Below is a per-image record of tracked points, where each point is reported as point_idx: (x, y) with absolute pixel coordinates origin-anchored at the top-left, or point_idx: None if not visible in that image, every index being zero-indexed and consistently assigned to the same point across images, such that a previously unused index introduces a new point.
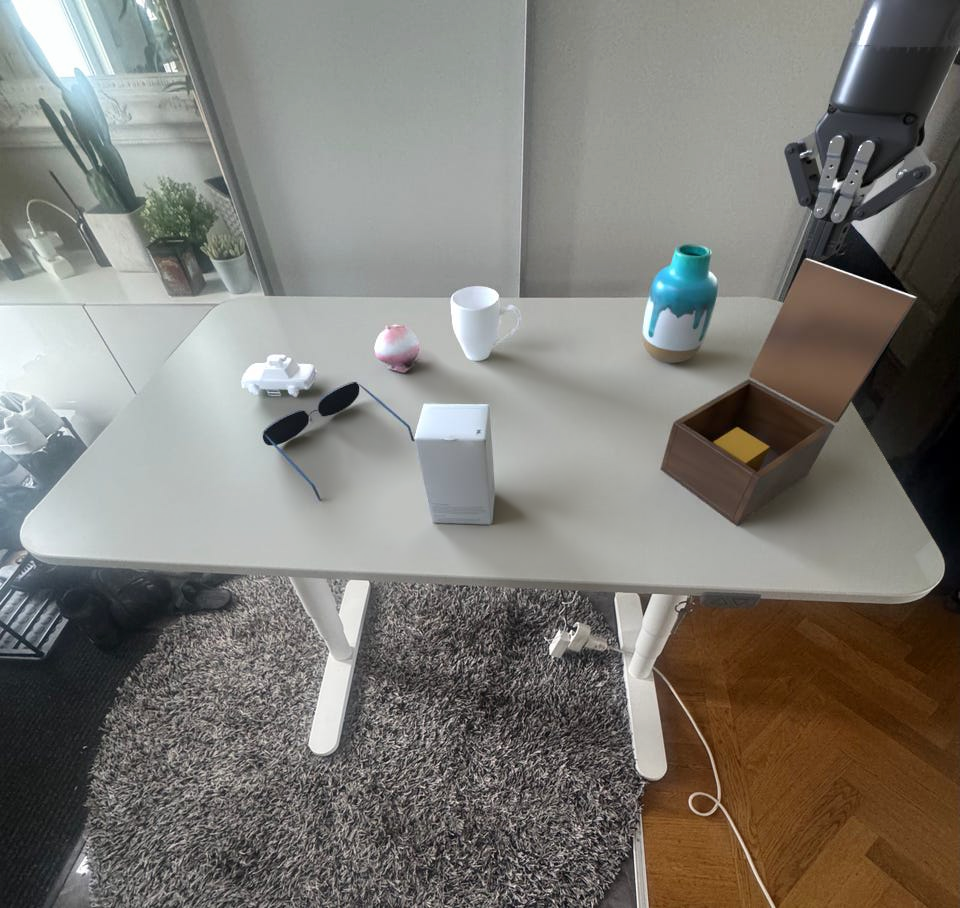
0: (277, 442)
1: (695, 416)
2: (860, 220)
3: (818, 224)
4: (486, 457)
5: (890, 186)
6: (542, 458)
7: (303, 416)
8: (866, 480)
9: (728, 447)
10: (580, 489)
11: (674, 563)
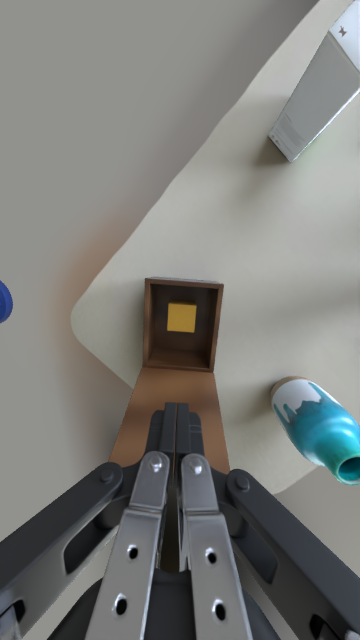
0: None
1: (216, 305)
2: (106, 463)
3: (188, 444)
4: (311, 62)
5: (21, 568)
6: (285, 221)
7: None
8: (126, 367)
9: (185, 308)
10: (243, 220)
11: (160, 220)
